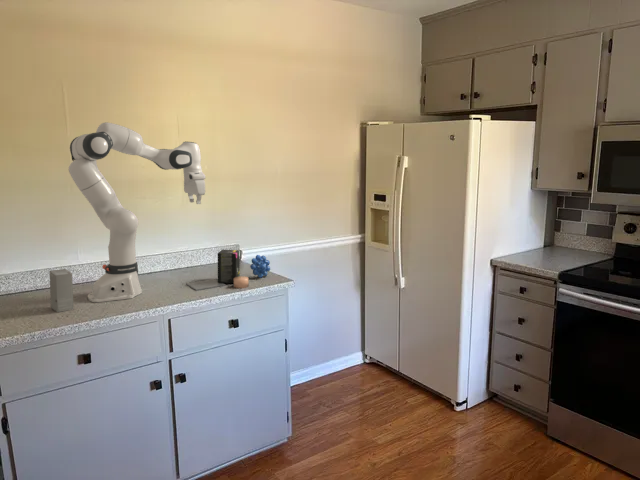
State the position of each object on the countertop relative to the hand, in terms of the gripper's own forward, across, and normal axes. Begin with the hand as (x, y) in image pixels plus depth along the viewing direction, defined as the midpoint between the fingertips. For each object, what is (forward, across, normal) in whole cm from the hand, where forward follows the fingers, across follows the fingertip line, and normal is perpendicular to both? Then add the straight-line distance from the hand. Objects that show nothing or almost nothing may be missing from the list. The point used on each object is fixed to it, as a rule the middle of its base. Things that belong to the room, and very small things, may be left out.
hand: (195, 203), depth 241 cm
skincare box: (+36, +17, -65) cm, 76 cm away
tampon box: (+38, +18, +8) cm, 42 cm away
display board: (+38, +18, -4) cm, 42 cm away
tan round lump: (+38, +29, +9) cm, 49 cm away
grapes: (+38, +21, +24) cm, 50 cm away
